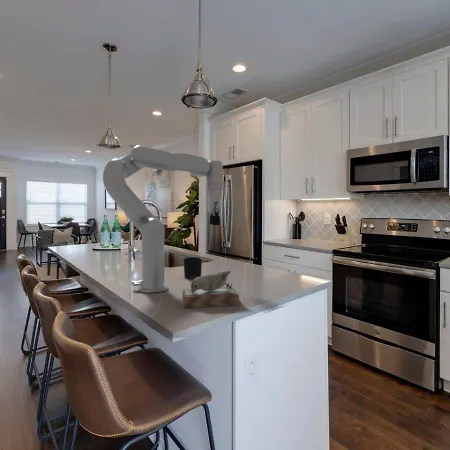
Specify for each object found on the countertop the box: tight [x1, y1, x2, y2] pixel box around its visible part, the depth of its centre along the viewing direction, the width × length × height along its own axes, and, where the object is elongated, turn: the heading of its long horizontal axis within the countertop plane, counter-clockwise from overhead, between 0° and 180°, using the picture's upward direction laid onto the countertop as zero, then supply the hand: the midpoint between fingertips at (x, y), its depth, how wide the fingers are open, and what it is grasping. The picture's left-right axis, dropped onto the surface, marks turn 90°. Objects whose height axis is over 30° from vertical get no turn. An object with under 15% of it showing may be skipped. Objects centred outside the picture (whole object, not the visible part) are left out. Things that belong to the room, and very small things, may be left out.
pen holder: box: [183, 256, 203, 280], centre depth 163 cm, size 9×9×10 cm
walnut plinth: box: [182, 287, 240, 309], centre depth 118 cm, size 20×11×4 cm, turn 100°
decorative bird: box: [190, 269, 233, 293], centre depth 118 cm, size 5×16×8 cm, turn 112°
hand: (214, 224), depth 145 cm, fingers open, 9 cm apart
